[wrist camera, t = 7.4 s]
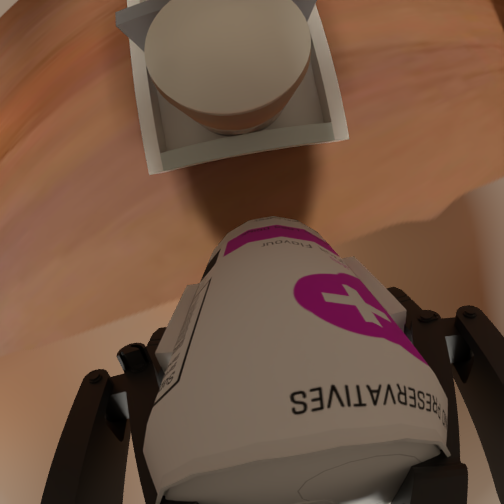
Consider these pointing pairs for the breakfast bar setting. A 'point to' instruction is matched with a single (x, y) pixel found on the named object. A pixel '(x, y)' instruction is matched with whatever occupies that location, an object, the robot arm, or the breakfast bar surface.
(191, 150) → the lane
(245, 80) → the jar
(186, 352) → the supplement can
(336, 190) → the breakfast bar surface
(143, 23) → the pusher
